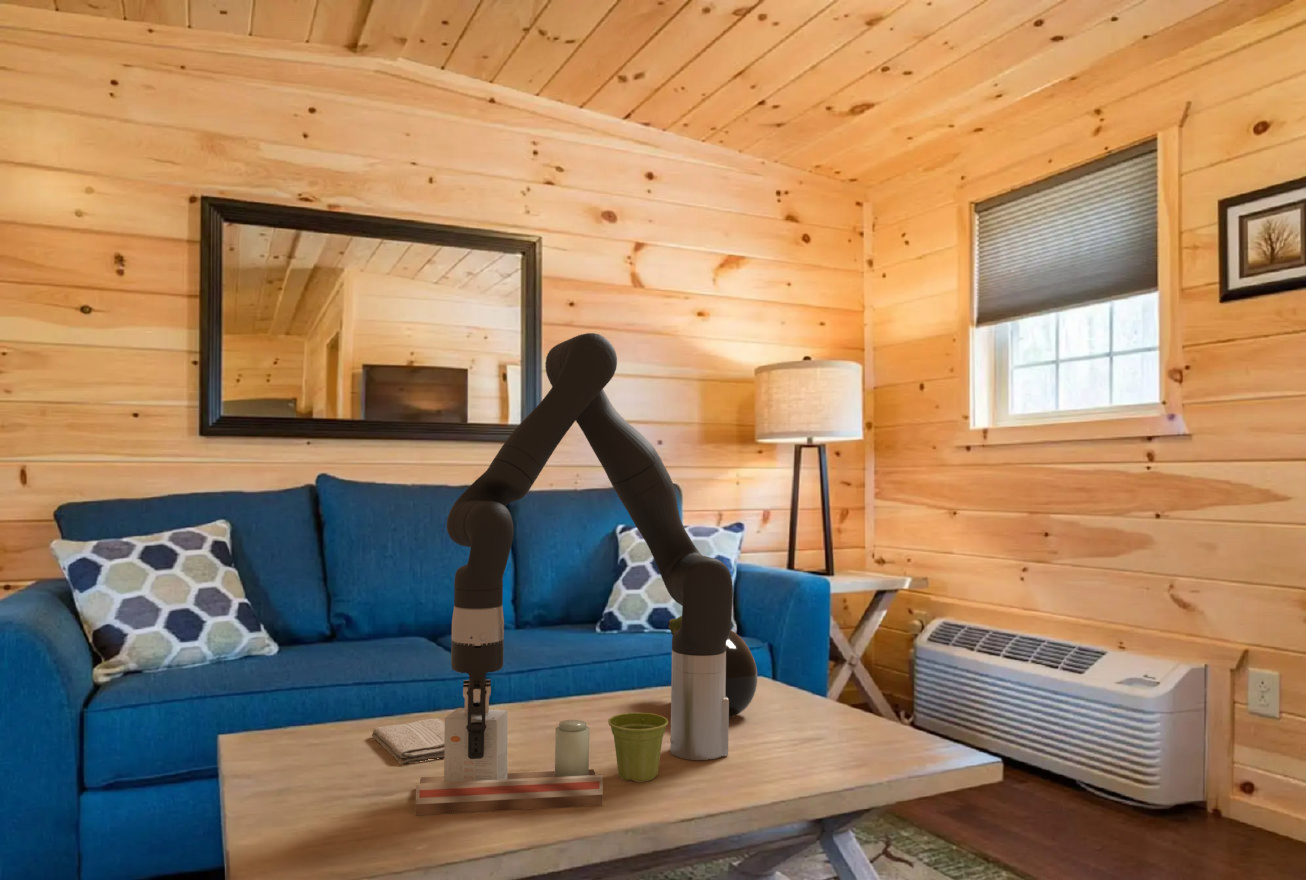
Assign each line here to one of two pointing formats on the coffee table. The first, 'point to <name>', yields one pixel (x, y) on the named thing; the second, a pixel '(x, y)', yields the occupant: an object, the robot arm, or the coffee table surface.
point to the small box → (457, 748)
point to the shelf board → (508, 793)
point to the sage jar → (572, 748)
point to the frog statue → (734, 671)
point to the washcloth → (413, 740)
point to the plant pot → (638, 744)
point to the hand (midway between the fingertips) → (476, 748)
